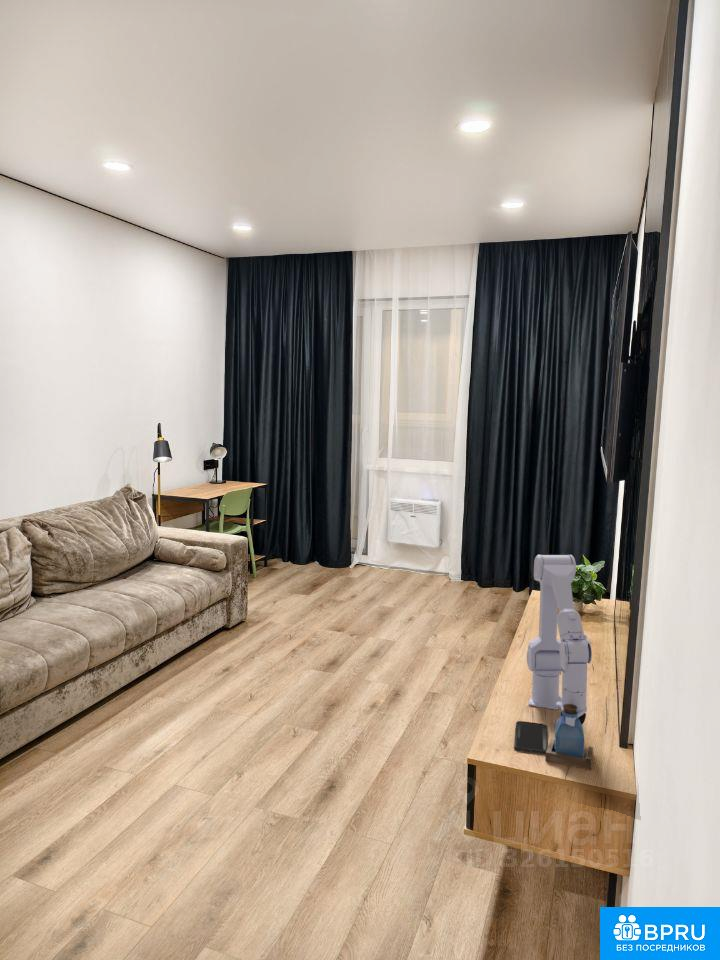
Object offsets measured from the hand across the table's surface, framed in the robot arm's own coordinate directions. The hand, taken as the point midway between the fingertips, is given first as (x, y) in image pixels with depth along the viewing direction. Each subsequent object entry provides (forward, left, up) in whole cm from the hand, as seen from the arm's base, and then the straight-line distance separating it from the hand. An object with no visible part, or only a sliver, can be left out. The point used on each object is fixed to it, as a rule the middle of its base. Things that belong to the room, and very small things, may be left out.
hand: (572, 742), depth 158 cm
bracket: (+6, 0, -1) cm, 6 cm away
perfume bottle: (+5, 0, -1) cm, 5 cm away
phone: (0, -10, -2) cm, 10 cm away
